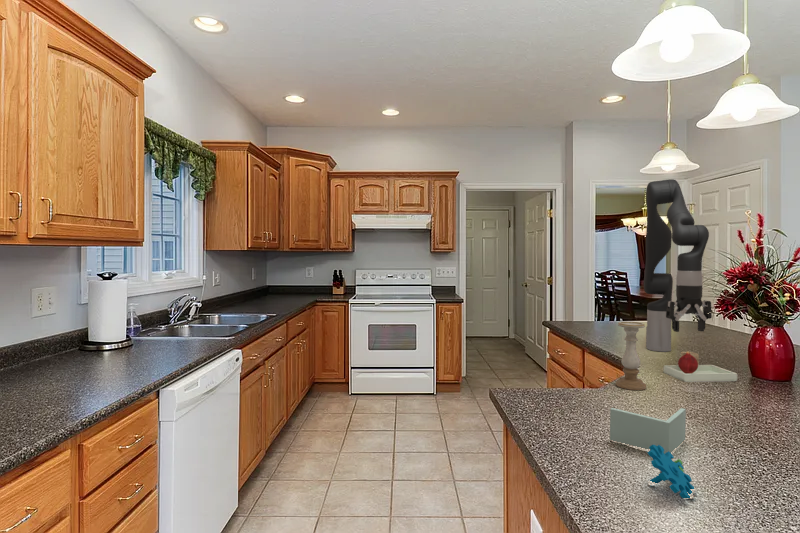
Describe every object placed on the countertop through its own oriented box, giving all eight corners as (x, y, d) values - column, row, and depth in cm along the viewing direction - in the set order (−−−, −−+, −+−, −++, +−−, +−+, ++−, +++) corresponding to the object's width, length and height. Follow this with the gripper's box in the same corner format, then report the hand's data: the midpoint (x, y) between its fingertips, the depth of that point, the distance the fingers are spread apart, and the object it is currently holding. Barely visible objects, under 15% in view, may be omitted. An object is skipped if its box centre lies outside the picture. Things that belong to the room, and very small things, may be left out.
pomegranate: (701, 377, 153) (702, 353, 153) (684, 377, 153) (685, 353, 153) (691, 372, 159) (691, 349, 159) (674, 372, 159) (674, 349, 159)
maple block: (680, 365, 172) (681, 351, 172) (691, 364, 172) (691, 351, 172) (687, 367, 168) (687, 354, 168) (698, 367, 168) (698, 354, 168)
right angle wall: (685, 441, 104) (685, 409, 104) (668, 458, 96) (669, 423, 95) (629, 427, 112) (630, 396, 112) (609, 441, 104) (610, 408, 104)
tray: (663, 372, 162) (663, 365, 162) (712, 371, 162) (712, 364, 162) (684, 381, 150) (684, 374, 150) (737, 381, 151) (737, 373, 151)
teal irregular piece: (690, 503, 76) (646, 447, 81) (660, 518, 78) (620, 463, 84) (707, 488, 83) (666, 437, 89) (680, 502, 86) (642, 452, 92)
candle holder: (624, 390, 141) (625, 325, 140) (610, 382, 150) (610, 321, 149) (652, 390, 141) (653, 325, 141) (636, 382, 150) (637, 320, 150)
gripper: (702, 282, 159) (701, 329, 160) (661, 283, 159) (661, 329, 159) (717, 284, 151) (716, 333, 152) (675, 285, 151) (674, 333, 152)
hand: (688, 331), depth 156 cm, fingers open, 8 cm apart
